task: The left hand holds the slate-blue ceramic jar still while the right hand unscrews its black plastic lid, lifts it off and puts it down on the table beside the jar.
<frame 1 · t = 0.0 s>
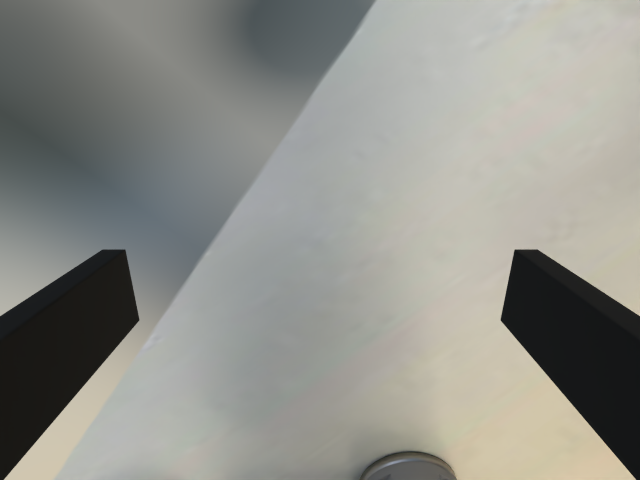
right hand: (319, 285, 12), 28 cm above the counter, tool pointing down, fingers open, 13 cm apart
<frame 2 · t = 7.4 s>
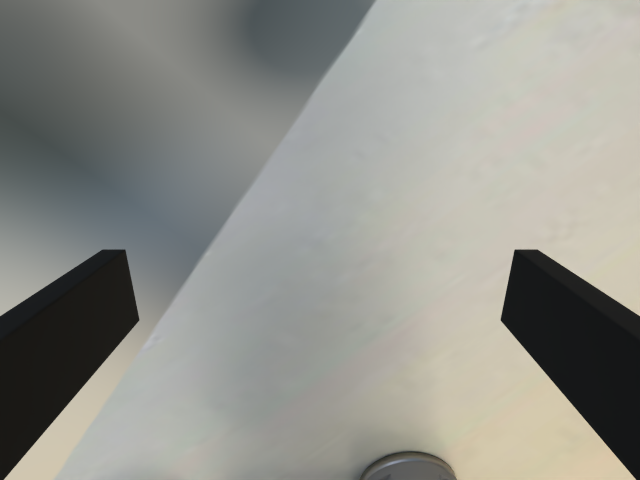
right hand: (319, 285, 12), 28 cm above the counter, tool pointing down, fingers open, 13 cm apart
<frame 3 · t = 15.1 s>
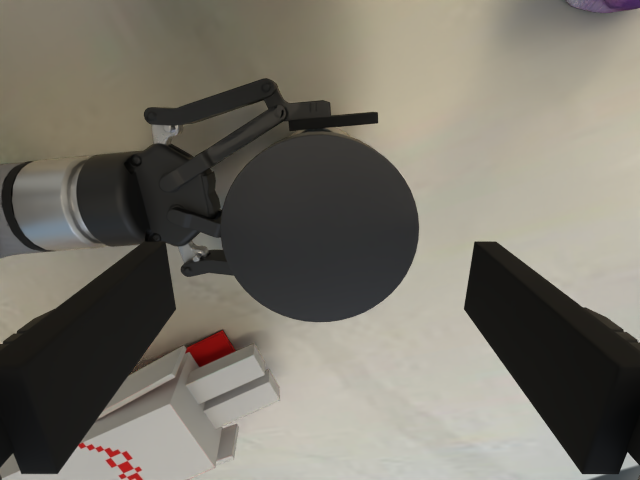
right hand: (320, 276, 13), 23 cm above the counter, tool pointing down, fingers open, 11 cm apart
left hand: (376, 178, 29), fingers closed on jar, 9 cm apart
lid: (319, 234, 17), point 19 cm above the counter, screwed on, not yet turned
toy: (160, 386, 44), on the counter
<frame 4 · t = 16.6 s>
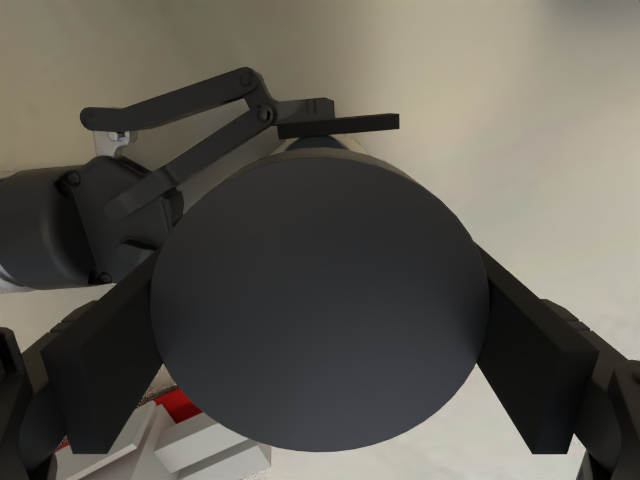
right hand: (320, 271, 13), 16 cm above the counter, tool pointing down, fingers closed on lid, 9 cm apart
left hand: (395, 201, 22), fingers closed on jar, 9 cm apart
lid: (319, 321, 10), point 19 cm above the counter, screwed on, not yet turned, touching right hand
jar: (319, 186, 28), on the counter, touching left hand
toy: (130, 439, 37), on the counter
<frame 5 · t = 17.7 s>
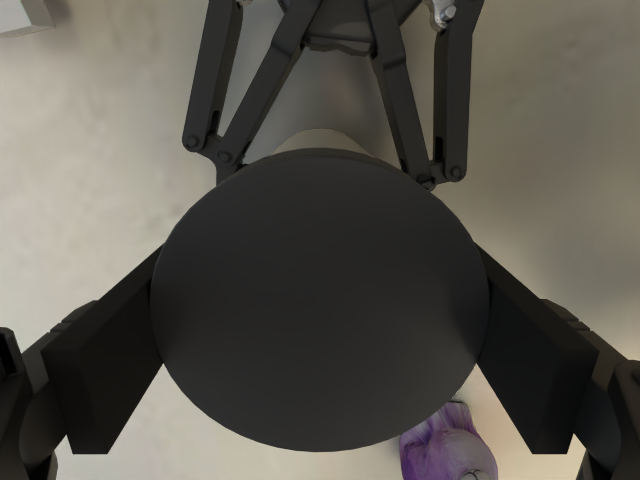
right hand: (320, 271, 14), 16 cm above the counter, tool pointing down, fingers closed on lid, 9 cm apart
left hand: (312, 273, 24), fingers closed on jar, 9 cm apart
lid: (319, 321, 10), point 19 cm above the counter, off its thread, touching right hand
jar: (319, 185, 28), on the counter, touching left hand
figurine: (435, 432, 37), on the counter
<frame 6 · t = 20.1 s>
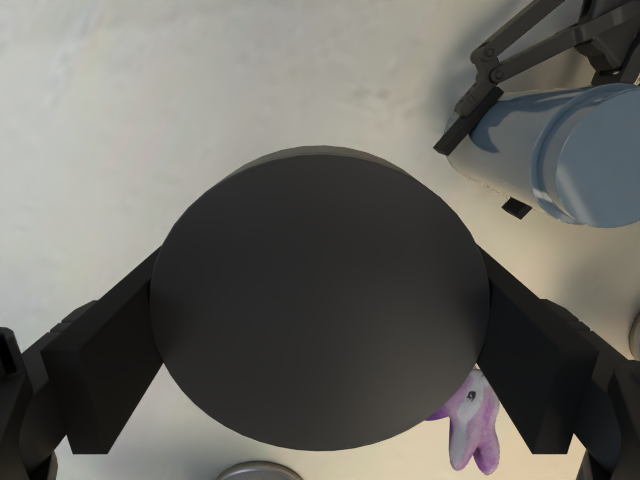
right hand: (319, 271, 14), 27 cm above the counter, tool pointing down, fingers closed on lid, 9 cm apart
left hand: (476, 183, 34), fingers closed on jar, 9 cm apart
lid: (319, 320, 10), point 31 cm above the counter, off its thread, touching right hand
jar: (484, 137, 38), on the counter, touching left hand
figurine: (427, 357, 48), on the counter
when the right hand's fingers open (0 cm above the counter, at t = 24.2 s): lid drops 2 cm, point 2 cm above the counter.
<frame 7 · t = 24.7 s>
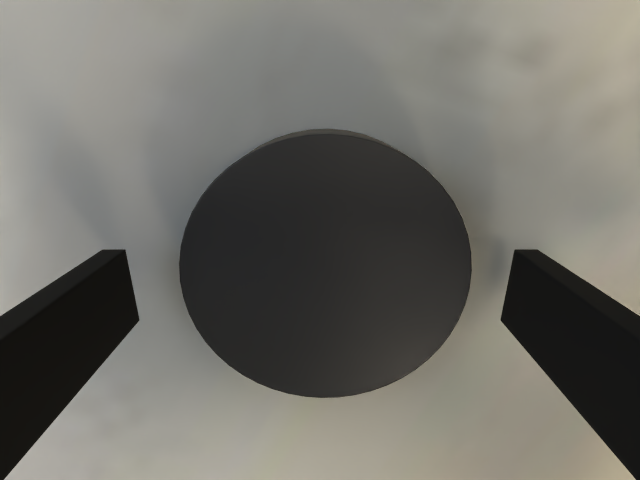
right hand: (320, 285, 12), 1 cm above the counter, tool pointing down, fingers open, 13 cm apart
lid: (325, 279, 12), point 2 cm above the counter, off its thread
when the left hand's fingers open (6 cm above the counter, at t = 25.2 s): jar stays where it is, on the counter.
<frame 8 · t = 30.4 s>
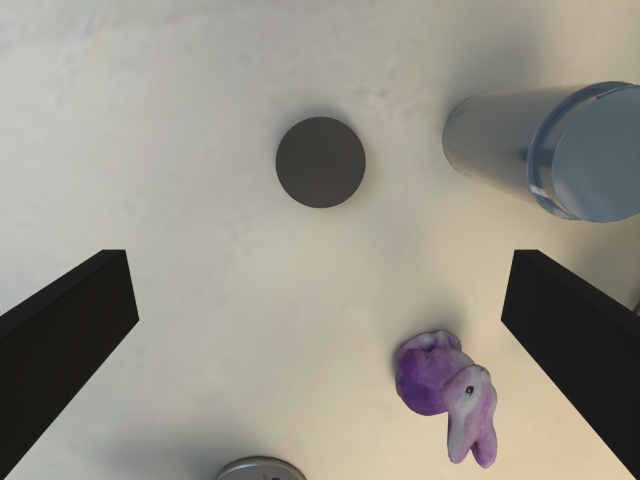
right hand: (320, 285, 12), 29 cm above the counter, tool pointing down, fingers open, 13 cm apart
lid: (320, 164, 38), point 2 cm above the counter, off its thread
jar: (482, 135, 39), on the counter
figurine: (426, 353, 48), on the counter
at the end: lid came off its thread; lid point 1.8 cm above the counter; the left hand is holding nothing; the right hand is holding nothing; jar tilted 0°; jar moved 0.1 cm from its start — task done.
